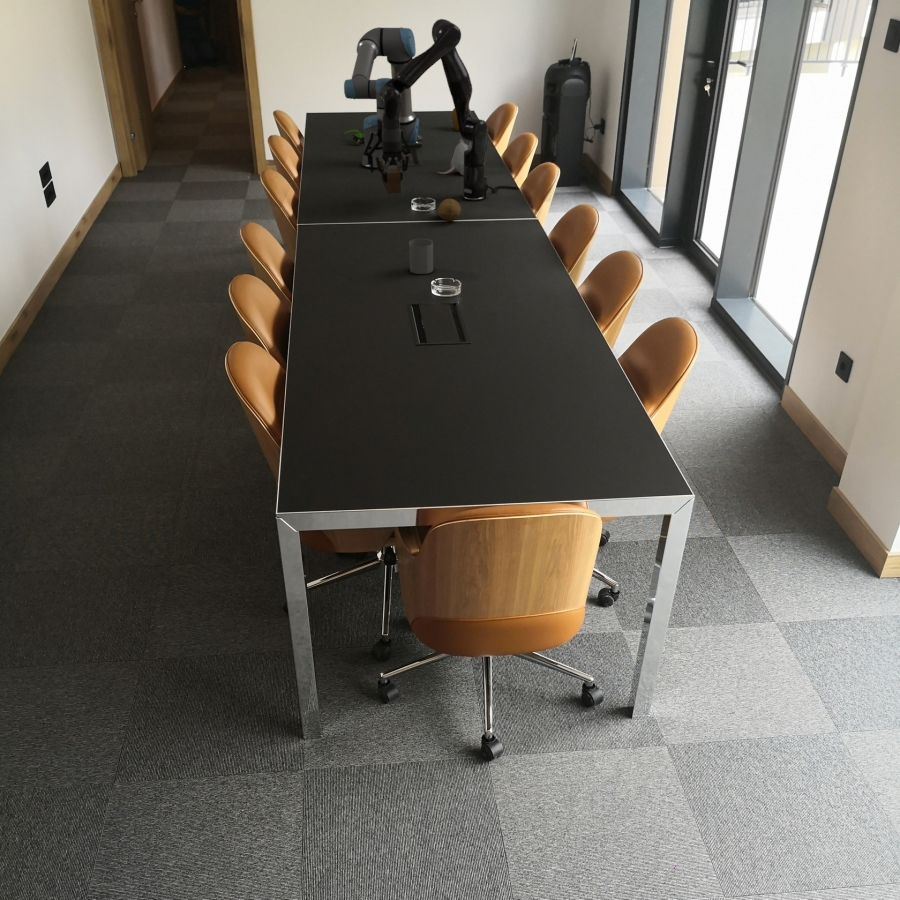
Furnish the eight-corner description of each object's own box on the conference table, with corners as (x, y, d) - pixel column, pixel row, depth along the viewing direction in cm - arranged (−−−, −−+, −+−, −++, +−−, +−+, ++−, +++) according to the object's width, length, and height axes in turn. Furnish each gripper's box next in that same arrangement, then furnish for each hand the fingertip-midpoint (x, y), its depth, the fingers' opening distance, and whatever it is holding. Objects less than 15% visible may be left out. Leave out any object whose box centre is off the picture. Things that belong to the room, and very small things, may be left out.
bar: (381, 178, 375) (380, 158, 371) (393, 177, 376) (392, 157, 372) (387, 193, 356) (387, 172, 351) (400, 192, 357) (400, 172, 352)
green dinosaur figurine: (399, 126, 467) (343, 124, 465) (399, 141, 460) (342, 139, 458) (399, 136, 472) (343, 133, 470) (399, 151, 465) (342, 149, 463)
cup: (409, 265, 311) (408, 238, 306) (432, 265, 312) (431, 238, 307) (410, 274, 304) (409, 246, 299) (433, 273, 305) (433, 246, 299)
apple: (471, 132, 486) (471, 108, 479) (451, 132, 486) (451, 108, 479) (470, 128, 495) (471, 104, 488) (452, 128, 495) (452, 104, 488)
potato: (459, 214, 362) (459, 195, 357) (462, 225, 350) (462, 205, 346) (436, 214, 361) (436, 195, 357) (438, 225, 349) (438, 205, 345)
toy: (478, 172, 417) (478, 139, 409) (444, 182, 402) (444, 148, 394) (464, 168, 422) (464, 136, 414) (430, 178, 407) (430, 145, 399)
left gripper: (356, 122, 354) (359, 174, 366) (417, 119, 358) (418, 172, 369) (355, 118, 360) (357, 170, 372) (414, 116, 364) (415, 167, 376)
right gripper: (374, 142, 344) (376, 185, 353) (410, 140, 346) (411, 183, 355) (372, 137, 350) (374, 180, 359) (407, 136, 352) (409, 178, 361)
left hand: (387, 171), depth 371 cm, fingers open, 13 cm apart
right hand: (393, 181), depth 357 cm, fingers closed on bar, 5 cm apart
